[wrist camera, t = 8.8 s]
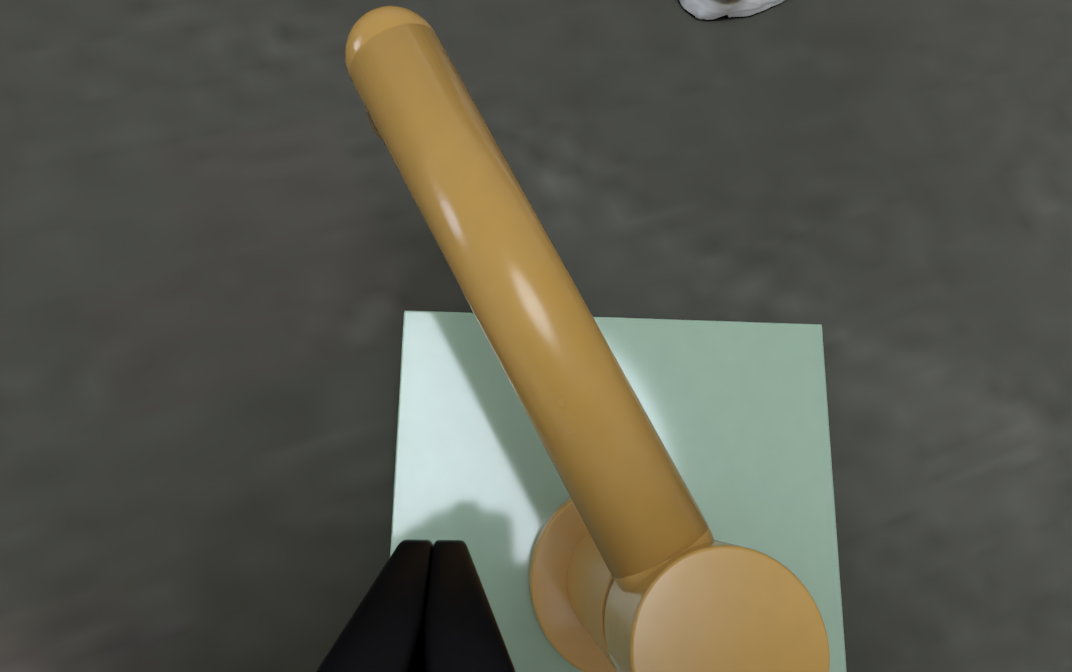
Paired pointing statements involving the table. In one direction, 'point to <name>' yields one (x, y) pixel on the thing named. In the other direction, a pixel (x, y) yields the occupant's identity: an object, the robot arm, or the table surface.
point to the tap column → (571, 590)
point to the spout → (575, 384)
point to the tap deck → (678, 417)
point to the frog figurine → (726, 7)
